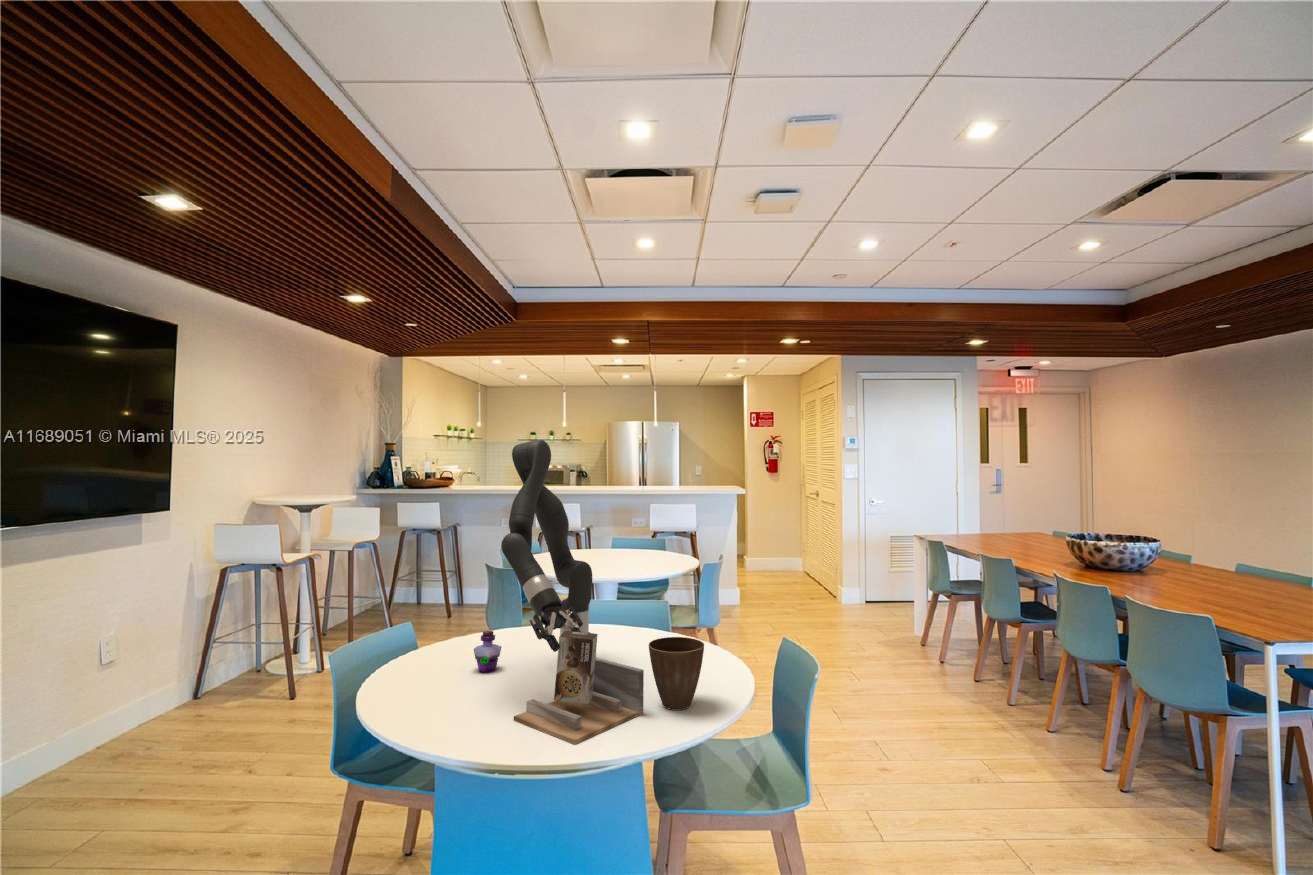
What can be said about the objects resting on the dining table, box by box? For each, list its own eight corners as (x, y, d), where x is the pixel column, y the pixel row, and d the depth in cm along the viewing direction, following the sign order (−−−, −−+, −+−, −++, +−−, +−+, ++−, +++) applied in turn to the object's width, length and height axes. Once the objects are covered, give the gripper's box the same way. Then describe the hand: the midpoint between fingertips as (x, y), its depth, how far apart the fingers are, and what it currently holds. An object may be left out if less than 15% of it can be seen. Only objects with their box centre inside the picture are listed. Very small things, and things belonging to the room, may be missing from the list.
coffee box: (593, 696, 160) (598, 633, 161) (588, 705, 153) (594, 639, 155) (558, 692, 161) (564, 629, 162) (552, 700, 154) (558, 635, 155)
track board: (583, 694, 171) (583, 654, 172) (643, 713, 157) (643, 669, 158) (513, 720, 153) (514, 675, 153) (574, 744, 139) (575, 694, 139)
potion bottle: (474, 675, 187) (475, 635, 188) (471, 667, 195) (472, 629, 196) (503, 672, 190) (504, 633, 191) (499, 664, 198) (500, 627, 199)
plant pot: (687, 720, 153) (687, 654, 154) (637, 708, 161) (637, 646, 162) (714, 702, 166) (713, 641, 167) (666, 692, 173) (666, 634, 174)
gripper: (527, 590, 159) (556, 643, 151) (568, 583, 171) (596, 632, 162) (514, 608, 162) (541, 661, 154) (554, 600, 173) (582, 649, 165)
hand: (569, 646), depth 158 cm, fingers closed on coffee box, 8 cm apart
